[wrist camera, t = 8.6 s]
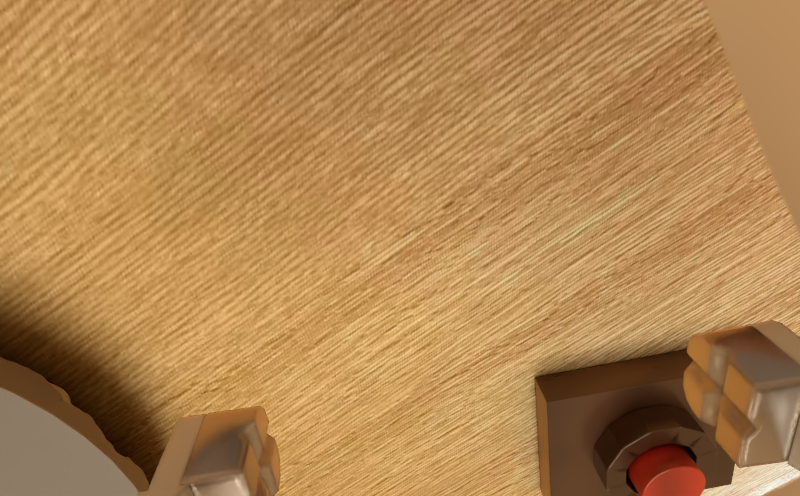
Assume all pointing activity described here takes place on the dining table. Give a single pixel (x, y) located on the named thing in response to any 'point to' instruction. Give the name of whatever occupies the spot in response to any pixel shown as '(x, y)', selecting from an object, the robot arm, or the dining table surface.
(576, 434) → the button block
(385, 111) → the dining table surface
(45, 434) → the flat disc
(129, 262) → the dining table surface
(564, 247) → the dining table surface
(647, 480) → the button
